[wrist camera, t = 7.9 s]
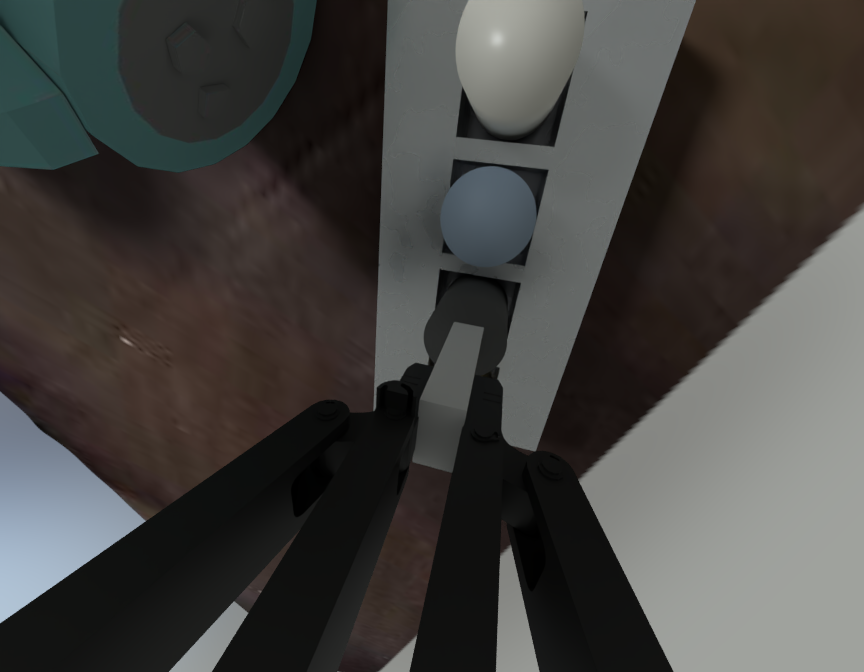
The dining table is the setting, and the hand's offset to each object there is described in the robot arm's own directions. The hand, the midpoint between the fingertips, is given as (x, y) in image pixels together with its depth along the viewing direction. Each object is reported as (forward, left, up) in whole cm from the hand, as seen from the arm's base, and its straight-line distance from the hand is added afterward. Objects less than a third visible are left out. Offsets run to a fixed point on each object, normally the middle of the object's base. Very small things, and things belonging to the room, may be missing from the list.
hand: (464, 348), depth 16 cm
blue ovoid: (0, +6, -8) cm, 10 cm away
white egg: (0, +12, -7) cm, 14 cm away
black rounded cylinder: (0, 0, -7) cm, 7 cm away
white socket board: (0, +3, -9) cm, 10 cm away
